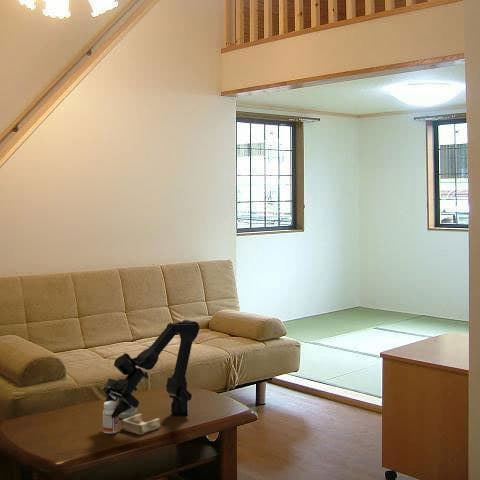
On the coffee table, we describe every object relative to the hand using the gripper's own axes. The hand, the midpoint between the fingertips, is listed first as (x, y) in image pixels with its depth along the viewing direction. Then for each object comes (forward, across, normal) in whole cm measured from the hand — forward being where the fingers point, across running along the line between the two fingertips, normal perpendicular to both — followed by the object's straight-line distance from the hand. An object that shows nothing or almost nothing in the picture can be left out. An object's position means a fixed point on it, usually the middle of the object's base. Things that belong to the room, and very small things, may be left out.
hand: (107, 415), depth 260 cm
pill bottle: (+4, 0, +6) cm, 7 cm away
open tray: (-4, +4, +13) cm, 15 cm away
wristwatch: (-6, -12, +16) cm, 21 cm away
